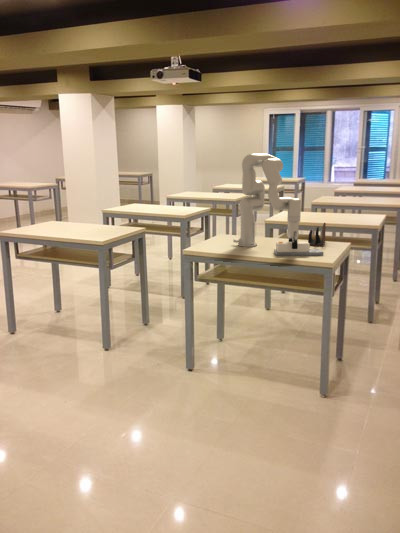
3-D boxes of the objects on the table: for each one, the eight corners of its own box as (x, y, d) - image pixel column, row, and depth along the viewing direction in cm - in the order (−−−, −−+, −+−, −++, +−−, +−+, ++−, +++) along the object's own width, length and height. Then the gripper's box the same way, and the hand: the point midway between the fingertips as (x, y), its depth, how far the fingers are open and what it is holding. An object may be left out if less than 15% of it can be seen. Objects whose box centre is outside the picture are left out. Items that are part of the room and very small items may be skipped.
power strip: (277, 252, 293) (278, 242, 291) (276, 250, 298) (276, 241, 297) (309, 251, 293) (309, 242, 292) (306, 249, 299) (307, 240, 298)
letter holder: (325, 241, 337) (326, 221, 334) (323, 246, 319) (324, 225, 316) (310, 240, 340) (311, 220, 337) (307, 246, 322) (308, 224, 318)
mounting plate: (276, 256, 291) (277, 249, 290) (273, 252, 301) (274, 245, 300) (323, 255, 292) (323, 248, 291) (318, 252, 302) (319, 245, 301)
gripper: (284, 217, 300) (283, 244, 303) (290, 221, 283) (289, 250, 287) (296, 217, 300) (295, 244, 304) (303, 221, 283) (302, 250, 287)
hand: (292, 247), depth 295 cm, fingers open, 9 cm apart
